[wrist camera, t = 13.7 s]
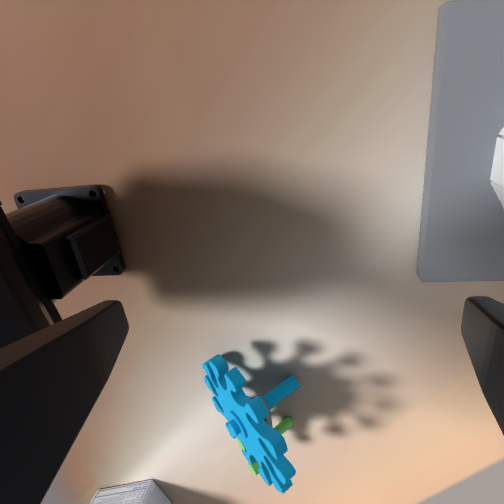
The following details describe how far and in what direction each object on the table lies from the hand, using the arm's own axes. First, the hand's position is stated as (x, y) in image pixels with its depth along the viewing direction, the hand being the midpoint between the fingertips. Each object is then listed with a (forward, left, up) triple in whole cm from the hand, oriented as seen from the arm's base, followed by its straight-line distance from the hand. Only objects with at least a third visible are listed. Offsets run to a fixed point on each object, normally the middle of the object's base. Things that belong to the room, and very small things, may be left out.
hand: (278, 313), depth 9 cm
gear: (-5, -16, -13) cm, 21 cm away
